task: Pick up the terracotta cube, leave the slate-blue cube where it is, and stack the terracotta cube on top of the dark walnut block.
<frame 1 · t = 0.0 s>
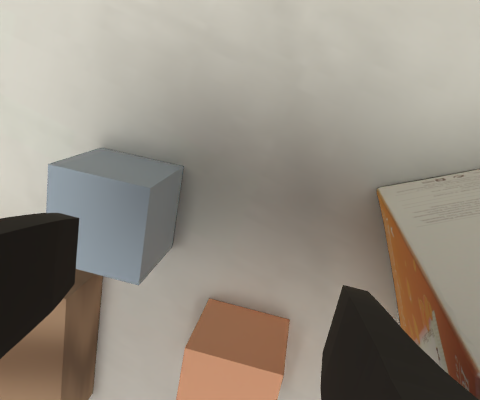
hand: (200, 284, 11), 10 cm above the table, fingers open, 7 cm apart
terracotta cube: (241, 342, 23), on the table
walnut block: (33, 311, 25), on the table
slate-blue cube: (137, 197, 22), on the table
small box: (454, 252, 20), on the table
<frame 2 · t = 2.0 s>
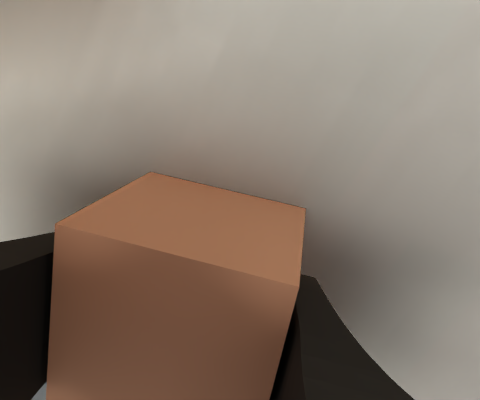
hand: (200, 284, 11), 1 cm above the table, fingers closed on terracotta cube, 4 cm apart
terracotta cube: (212, 261, 12), on the table, touching gripper
when the fingers open (6 cm above the table, at t = 4.9 s): terracotta cube drops 1 cm, point 4 cm above the table.
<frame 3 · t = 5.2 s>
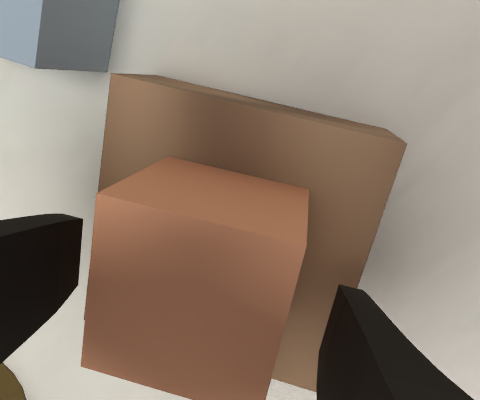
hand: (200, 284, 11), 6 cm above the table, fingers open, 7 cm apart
terracotta cube: (224, 238, 13), point 4 cm above the table
walnut block: (243, 208, 17), on the table
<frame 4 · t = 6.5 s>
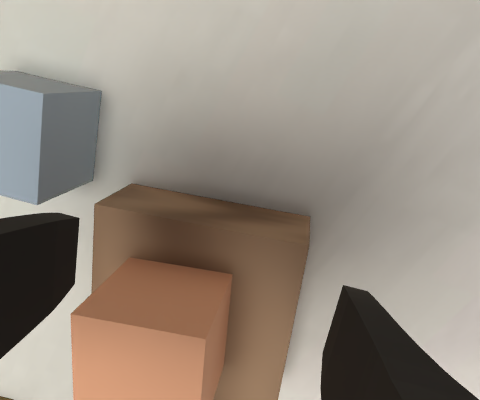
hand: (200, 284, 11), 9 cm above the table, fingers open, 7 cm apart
terracotta cube: (177, 312, 18), point 4 cm above the table, touching walnut block
walnut block: (209, 278, 22), on the table, touching terracotta cube
slate-blue cube: (56, 126, 21), on the table
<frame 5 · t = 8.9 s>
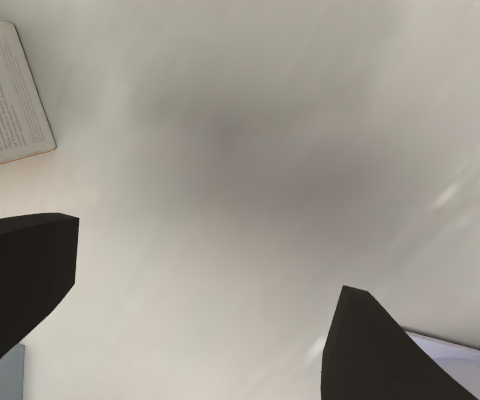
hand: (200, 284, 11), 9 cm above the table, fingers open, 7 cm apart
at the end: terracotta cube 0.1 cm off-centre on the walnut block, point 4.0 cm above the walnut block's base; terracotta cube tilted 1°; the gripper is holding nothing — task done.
